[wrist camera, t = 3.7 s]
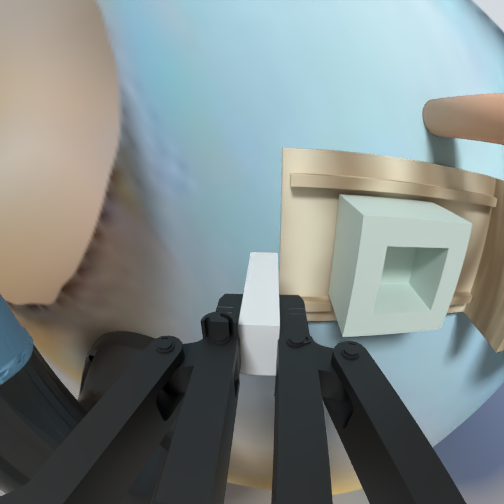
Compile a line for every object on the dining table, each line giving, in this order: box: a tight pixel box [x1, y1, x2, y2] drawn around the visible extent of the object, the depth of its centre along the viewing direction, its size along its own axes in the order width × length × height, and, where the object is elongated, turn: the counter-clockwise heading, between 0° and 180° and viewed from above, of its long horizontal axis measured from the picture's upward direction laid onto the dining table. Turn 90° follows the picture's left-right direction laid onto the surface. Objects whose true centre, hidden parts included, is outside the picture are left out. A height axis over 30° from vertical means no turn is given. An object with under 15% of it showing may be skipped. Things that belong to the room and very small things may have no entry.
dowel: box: [423, 93, 504, 145], centre depth 10 cm, size 3×3×15 cm
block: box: [328, 194, 472, 337], centre depth 18 cm, size 8×8×6 cm
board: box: [279, 148, 504, 353], centre depth 18 cm, size 22×14×8 cm, turn 90°
